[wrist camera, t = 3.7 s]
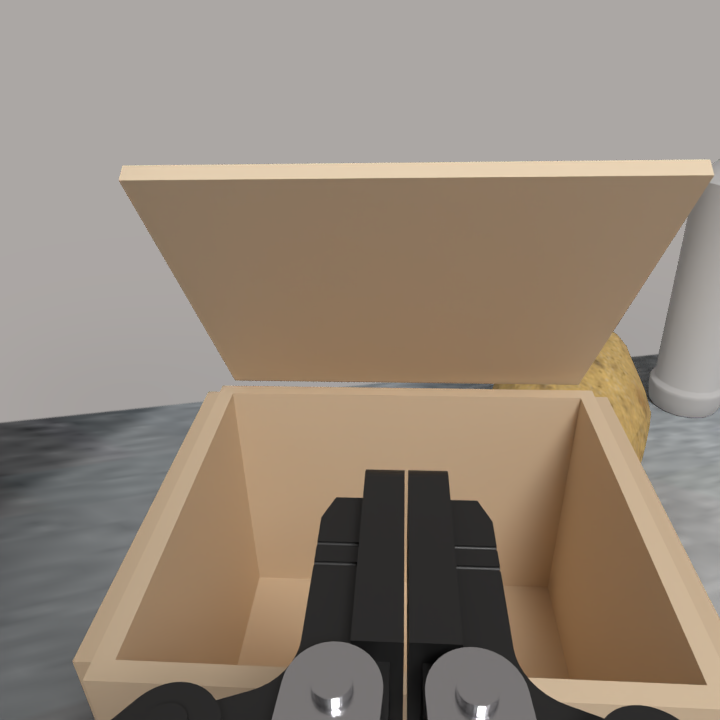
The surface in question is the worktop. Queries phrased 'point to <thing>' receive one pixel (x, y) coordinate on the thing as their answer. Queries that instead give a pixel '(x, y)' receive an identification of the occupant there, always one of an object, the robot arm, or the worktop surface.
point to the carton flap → (414, 262)
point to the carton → (466, 482)
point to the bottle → (693, 317)
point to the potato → (612, 390)
